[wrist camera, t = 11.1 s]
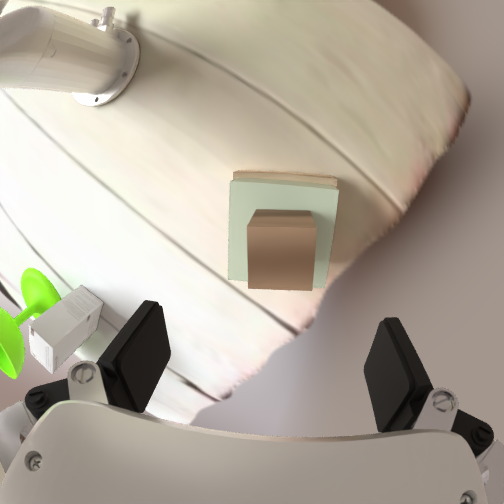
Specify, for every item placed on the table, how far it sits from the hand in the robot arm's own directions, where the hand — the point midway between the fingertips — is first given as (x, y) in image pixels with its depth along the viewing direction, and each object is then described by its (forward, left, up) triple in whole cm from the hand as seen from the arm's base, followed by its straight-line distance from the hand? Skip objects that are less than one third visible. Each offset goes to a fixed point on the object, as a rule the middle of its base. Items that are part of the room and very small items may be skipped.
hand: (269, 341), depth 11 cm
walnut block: (0, 0, -16) cm, 16 cm away
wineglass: (+20, -50, -24) cm, 59 cm away
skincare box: (+18, -34, -24) cm, 45 cm away
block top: (+1, 0, -20) cm, 20 cm away
